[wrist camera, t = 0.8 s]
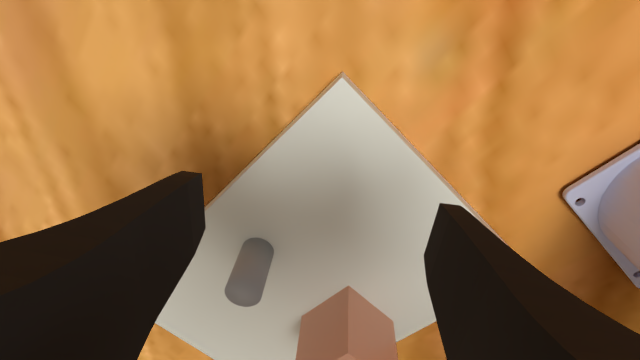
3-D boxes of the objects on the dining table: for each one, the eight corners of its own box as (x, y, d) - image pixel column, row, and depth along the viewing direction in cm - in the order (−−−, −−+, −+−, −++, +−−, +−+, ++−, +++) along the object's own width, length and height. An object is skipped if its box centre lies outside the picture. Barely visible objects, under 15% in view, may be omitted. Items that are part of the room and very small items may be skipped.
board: (520, 257, 23) (557, 320, 18) (286, 388, 31) (276, 450, 27) (342, 71, 18) (340, 99, 14) (125, 286, 26) (83, 342, 22)
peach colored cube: (393, 321, 24) (402, 392, 20) (345, 348, 26) (344, 418, 22) (348, 285, 23) (348, 352, 19) (301, 316, 25) (291, 384, 21)
